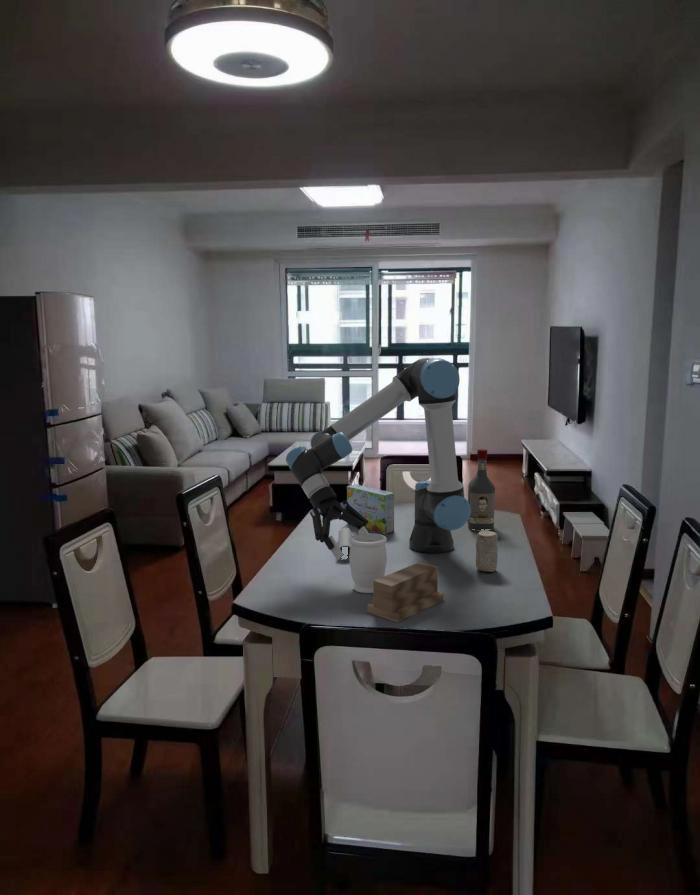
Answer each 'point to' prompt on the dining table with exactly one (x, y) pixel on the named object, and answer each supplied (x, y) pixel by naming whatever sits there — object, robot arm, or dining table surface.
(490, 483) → the liquor
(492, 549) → the carving
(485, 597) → the dining table surface
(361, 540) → the jar
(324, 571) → the dining table surface
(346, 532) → the tube
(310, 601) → the dining table surface
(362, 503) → the snack box
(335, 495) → the robot arm
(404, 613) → the wooden block
